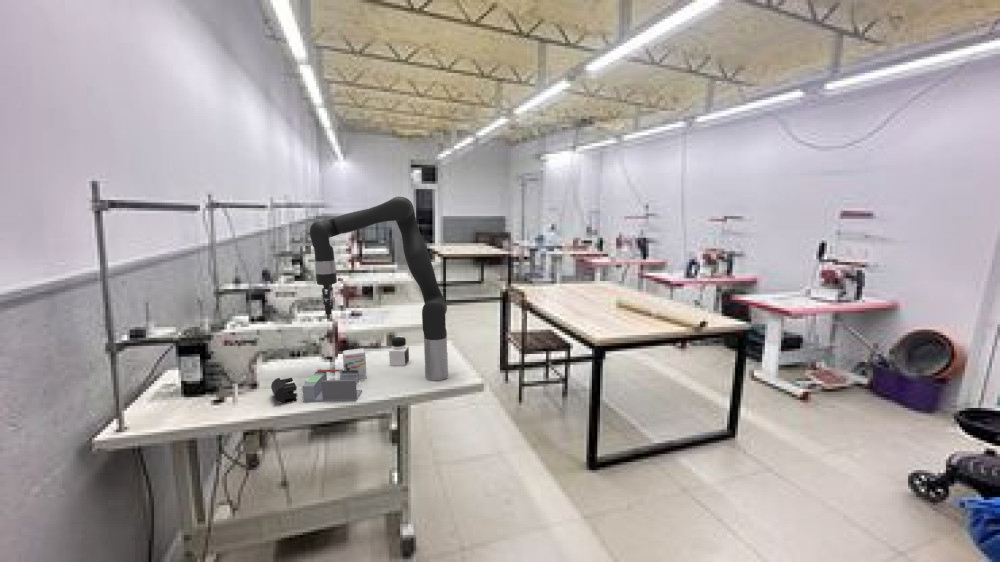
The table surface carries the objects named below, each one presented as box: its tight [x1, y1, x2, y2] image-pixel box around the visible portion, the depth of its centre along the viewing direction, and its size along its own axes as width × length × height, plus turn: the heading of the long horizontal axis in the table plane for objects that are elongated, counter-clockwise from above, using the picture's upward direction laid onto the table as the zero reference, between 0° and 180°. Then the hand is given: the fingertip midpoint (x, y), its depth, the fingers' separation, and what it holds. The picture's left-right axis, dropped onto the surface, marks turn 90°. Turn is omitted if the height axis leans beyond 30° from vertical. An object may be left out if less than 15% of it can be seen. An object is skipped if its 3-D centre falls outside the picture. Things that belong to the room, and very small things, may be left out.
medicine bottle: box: [388, 335, 410, 367], centre depth 193 cm, size 7×7×12 cm
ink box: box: [342, 348, 368, 381], centre depth 176 cm, size 8×5×12 cm, turn 113°
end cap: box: [270, 377, 298, 405], centre depth 158 cm, size 10×7×7 cm
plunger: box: [316, 368, 360, 386], centre depth 168 cm, size 15×4×6 cm, turn 93°
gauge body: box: [301, 371, 363, 403], centre depth 162 cm, size 19×14×8 cm
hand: (329, 311), depth 173 cm, fingers open, 8 cm apart
